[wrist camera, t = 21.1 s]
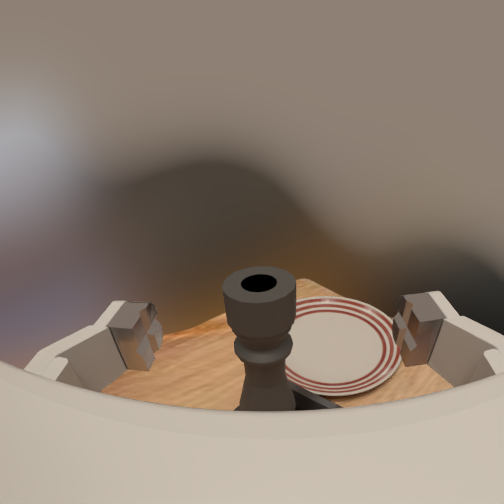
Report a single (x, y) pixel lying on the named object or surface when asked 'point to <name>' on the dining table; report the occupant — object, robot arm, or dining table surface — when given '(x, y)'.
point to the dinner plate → (340, 346)
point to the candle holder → (262, 334)
